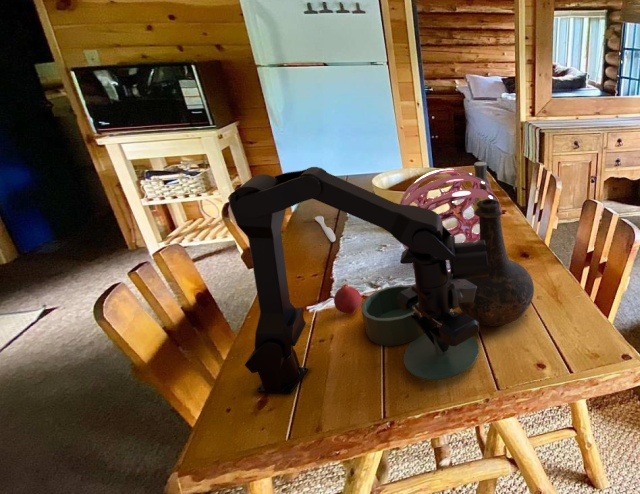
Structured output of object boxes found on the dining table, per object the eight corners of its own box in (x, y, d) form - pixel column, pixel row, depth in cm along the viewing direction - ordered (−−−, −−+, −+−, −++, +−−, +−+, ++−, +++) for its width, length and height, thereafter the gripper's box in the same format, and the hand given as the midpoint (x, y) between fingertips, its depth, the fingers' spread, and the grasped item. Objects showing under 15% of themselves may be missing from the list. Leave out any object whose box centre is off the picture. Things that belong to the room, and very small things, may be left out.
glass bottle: (520, 286, 113) (516, 182, 100) (546, 326, 98) (546, 210, 85) (450, 301, 107) (438, 192, 94) (467, 346, 92) (454, 224, 79)
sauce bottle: (471, 217, 153) (467, 161, 144) (489, 214, 155) (485, 159, 146) (477, 224, 147) (473, 166, 138) (495, 221, 150) (492, 164, 141)
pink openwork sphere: (518, 217, 103) (475, 133, 114) (403, 263, 98) (369, 171, 108) (520, 263, 129) (484, 192, 139) (429, 303, 123) (399, 225, 133)
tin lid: (471, 384, 80) (468, 363, 78) (393, 381, 81) (388, 359, 79) (485, 334, 93) (483, 314, 91) (417, 331, 94) (414, 311, 92)
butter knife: (322, 215, 154) (313, 217, 152) (338, 239, 136) (328, 242, 135) (323, 216, 154) (313, 218, 152) (338, 241, 136) (328, 243, 135)
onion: (355, 322, 100) (347, 292, 96) (332, 319, 101) (324, 289, 97) (369, 307, 105) (362, 278, 101) (347, 304, 106) (340, 276, 102)
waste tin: (419, 347, 92) (415, 321, 89) (356, 344, 93) (350, 319, 90) (437, 309, 104) (434, 285, 101) (381, 307, 105) (376, 284, 102)
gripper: (499, 281, 78) (503, 350, 86) (439, 248, 90) (447, 311, 97) (448, 307, 71) (456, 380, 78) (389, 268, 83) (402, 334, 90)
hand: (441, 347), depth 86 cm, fingers closed on tin lid, 2 cm apart
